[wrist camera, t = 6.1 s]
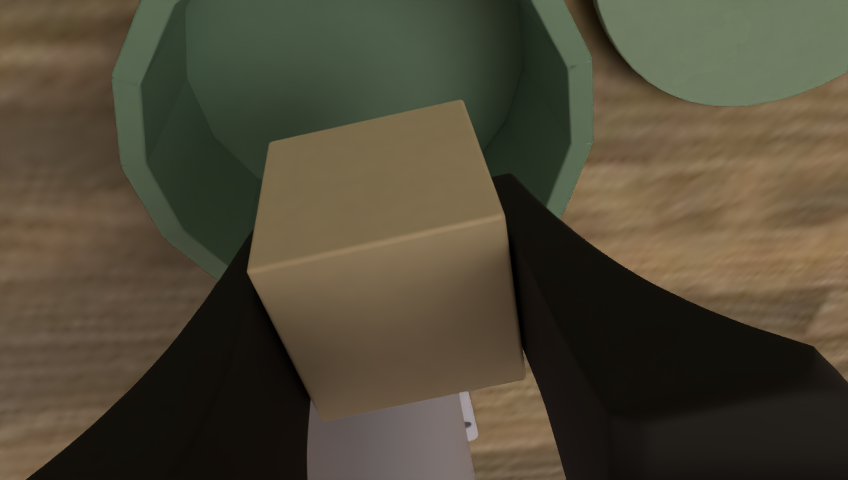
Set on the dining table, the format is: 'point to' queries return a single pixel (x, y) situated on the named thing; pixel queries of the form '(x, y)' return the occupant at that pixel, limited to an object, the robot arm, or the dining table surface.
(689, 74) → the lid
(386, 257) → the block
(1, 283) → the dining table surface
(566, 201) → the pan
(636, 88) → the dining table surface
